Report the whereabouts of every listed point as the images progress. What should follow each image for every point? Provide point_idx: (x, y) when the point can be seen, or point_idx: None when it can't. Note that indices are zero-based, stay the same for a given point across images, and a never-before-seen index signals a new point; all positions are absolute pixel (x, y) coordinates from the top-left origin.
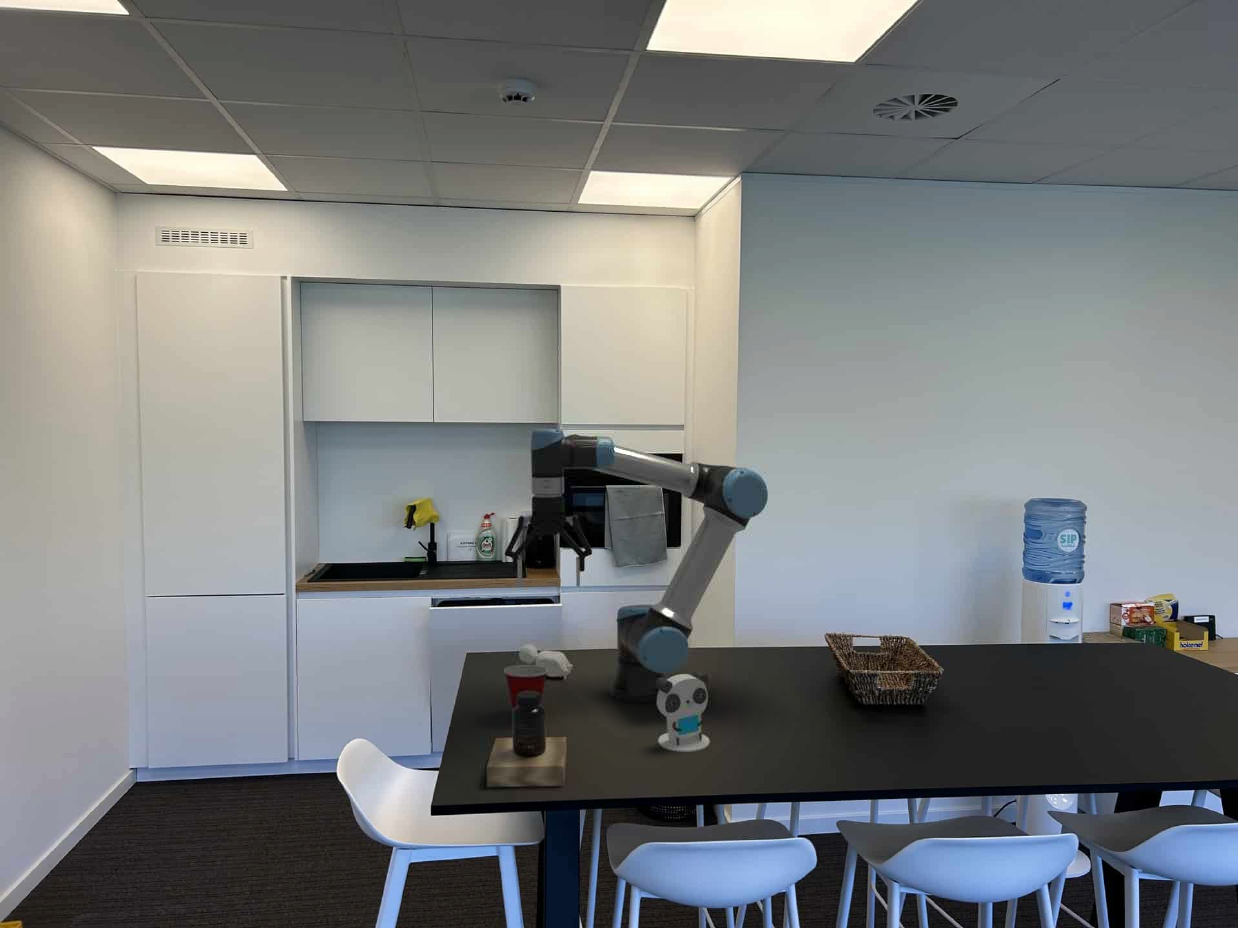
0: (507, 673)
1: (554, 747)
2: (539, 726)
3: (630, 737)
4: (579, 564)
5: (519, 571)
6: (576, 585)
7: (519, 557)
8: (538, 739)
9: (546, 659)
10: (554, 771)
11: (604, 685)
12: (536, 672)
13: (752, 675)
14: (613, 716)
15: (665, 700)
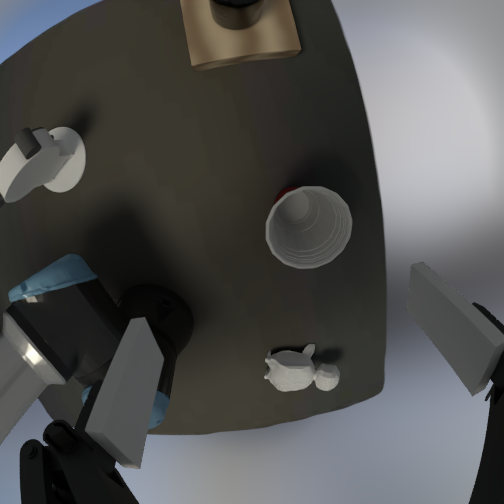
0: (340, 197)
1: (201, 28)
2: None
3: (120, 154)
4: (100, 405)
5: (459, 302)
6: (143, 319)
7: (481, 389)
8: None
9: (298, 366)
10: None
11: (210, 340)
12: (293, 255)
13: None
14: (162, 229)
15: (37, 131)
